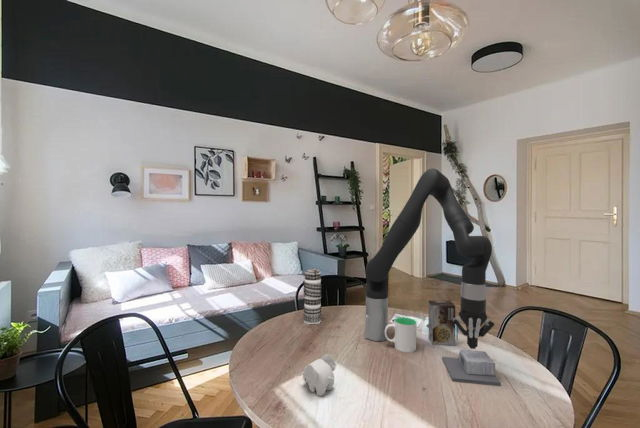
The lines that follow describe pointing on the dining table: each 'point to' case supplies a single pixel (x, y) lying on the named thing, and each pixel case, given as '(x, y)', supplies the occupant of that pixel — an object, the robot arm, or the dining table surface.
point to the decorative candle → (312, 296)
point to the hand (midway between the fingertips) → (472, 347)
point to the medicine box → (476, 362)
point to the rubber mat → (461, 376)
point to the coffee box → (441, 323)
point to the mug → (404, 334)
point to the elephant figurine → (320, 374)
